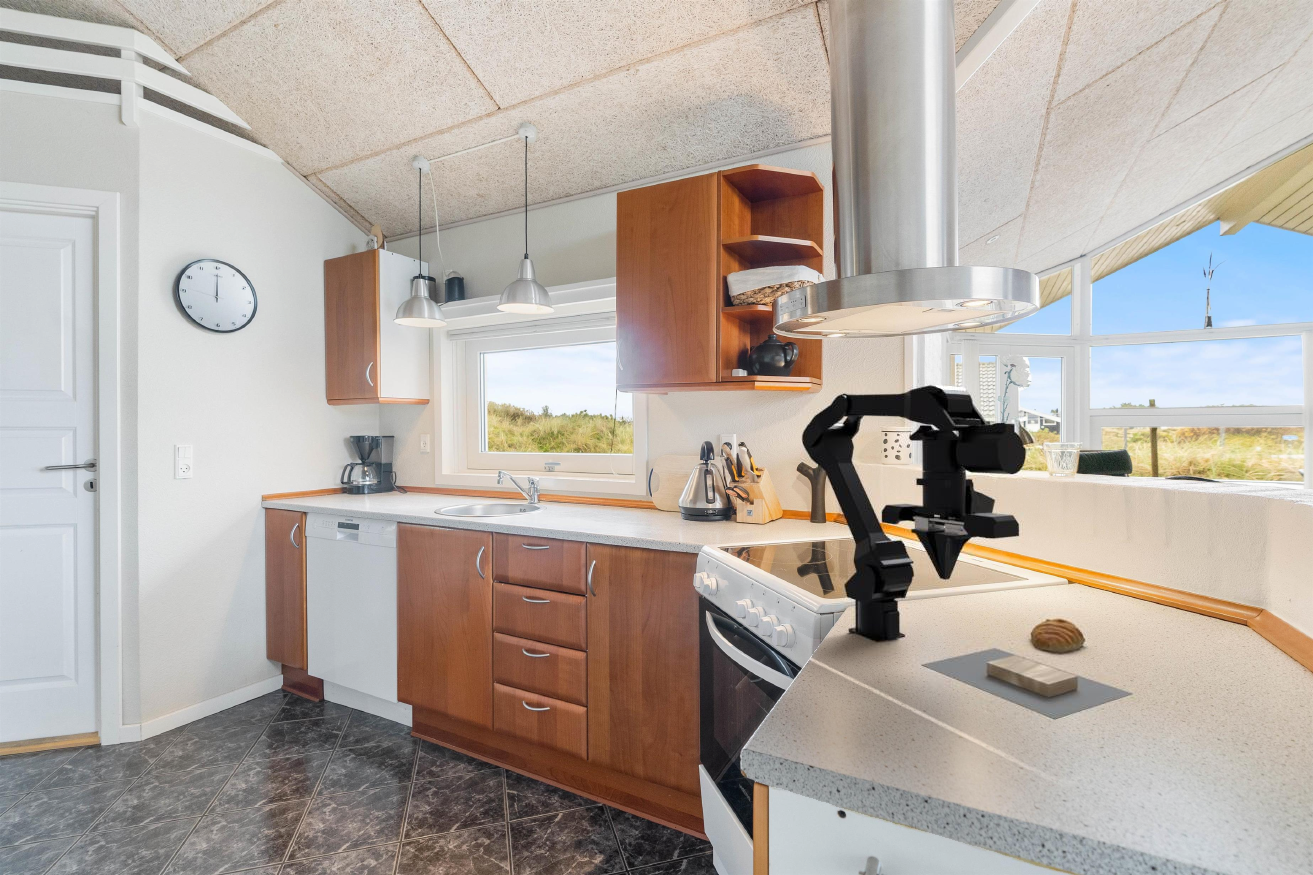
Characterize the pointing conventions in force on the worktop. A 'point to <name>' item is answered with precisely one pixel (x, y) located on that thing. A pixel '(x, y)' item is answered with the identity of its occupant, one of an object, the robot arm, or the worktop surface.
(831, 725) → the worktop surface
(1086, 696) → the mat
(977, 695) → the worktop surface
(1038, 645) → the pastry
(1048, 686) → the tile
